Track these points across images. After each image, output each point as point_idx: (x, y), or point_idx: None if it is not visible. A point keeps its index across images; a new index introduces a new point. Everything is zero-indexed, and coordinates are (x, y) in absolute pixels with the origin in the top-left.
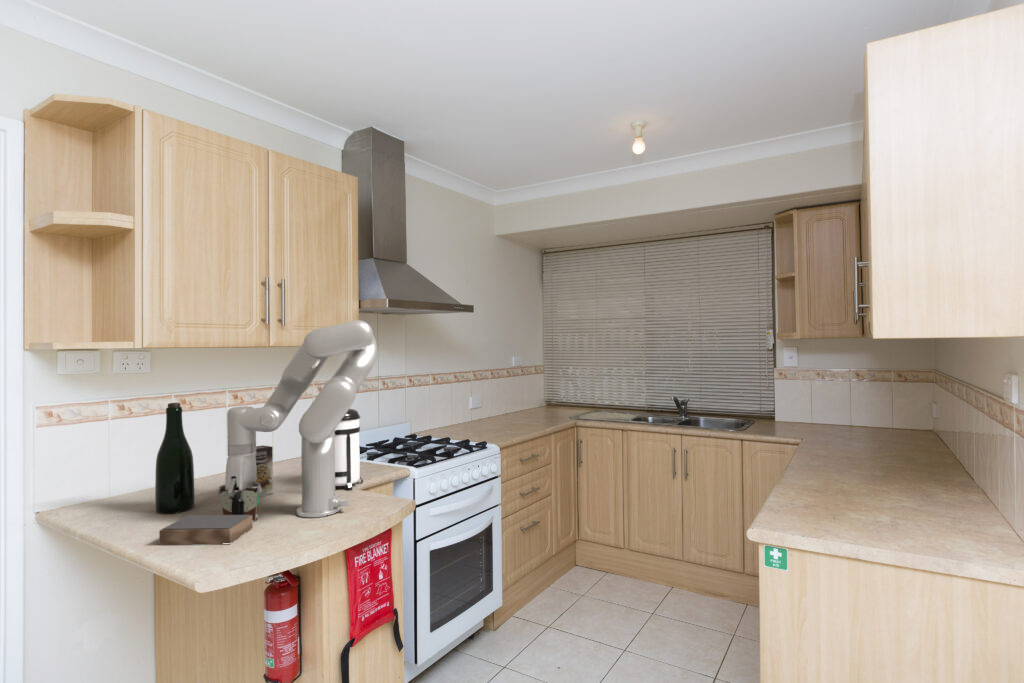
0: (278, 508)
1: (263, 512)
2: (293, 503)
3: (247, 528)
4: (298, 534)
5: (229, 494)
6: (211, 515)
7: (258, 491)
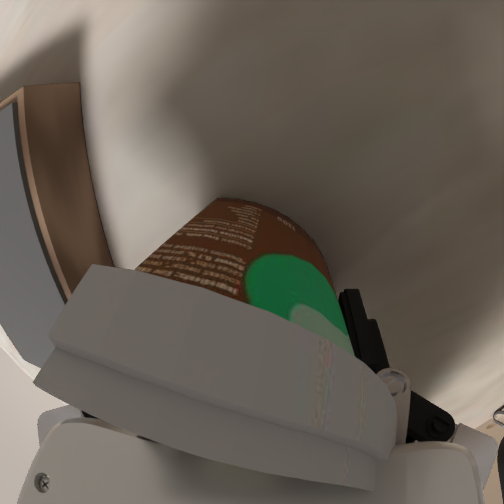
0: (421, 359)
1: (380, 333)
2: (462, 371)
3: None
4: None
5: (54, 417)
6: (40, 255)
7: None
